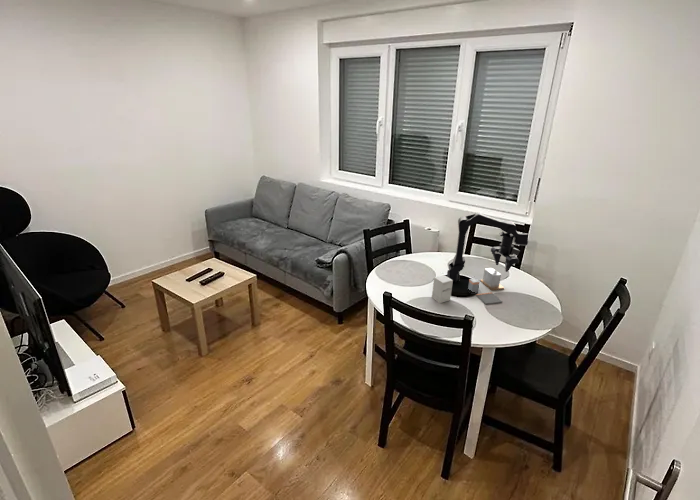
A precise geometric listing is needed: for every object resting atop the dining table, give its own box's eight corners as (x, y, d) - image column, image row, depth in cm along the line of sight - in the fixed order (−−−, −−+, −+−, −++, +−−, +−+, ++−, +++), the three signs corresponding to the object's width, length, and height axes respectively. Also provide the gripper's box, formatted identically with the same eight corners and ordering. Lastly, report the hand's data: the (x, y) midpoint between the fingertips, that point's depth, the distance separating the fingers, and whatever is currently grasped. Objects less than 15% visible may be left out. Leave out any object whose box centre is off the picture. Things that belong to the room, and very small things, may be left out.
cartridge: (471, 293, 217) (473, 282, 214) (467, 290, 220) (469, 279, 218) (477, 292, 218) (479, 281, 215) (474, 289, 221) (475, 278, 219)
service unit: (491, 290, 220) (494, 276, 216) (480, 281, 230) (482, 267, 227) (503, 289, 222) (506, 275, 218) (491, 280, 232) (494, 266, 229)
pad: (485, 304, 205) (486, 303, 205) (475, 295, 214) (476, 294, 214) (502, 302, 208) (502, 301, 207) (491, 293, 217) (491, 292, 216)
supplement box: (440, 303, 206) (442, 282, 201) (431, 297, 212) (433, 277, 207) (450, 300, 209) (453, 280, 204) (441, 294, 215) (444, 274, 210)
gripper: (529, 248, 210) (524, 274, 216) (508, 236, 227) (504, 260, 233) (512, 250, 207) (507, 275, 213) (492, 238, 224) (488, 262, 230)
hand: (501, 268), depth 223 cm, fingers open, 9 cm apart
